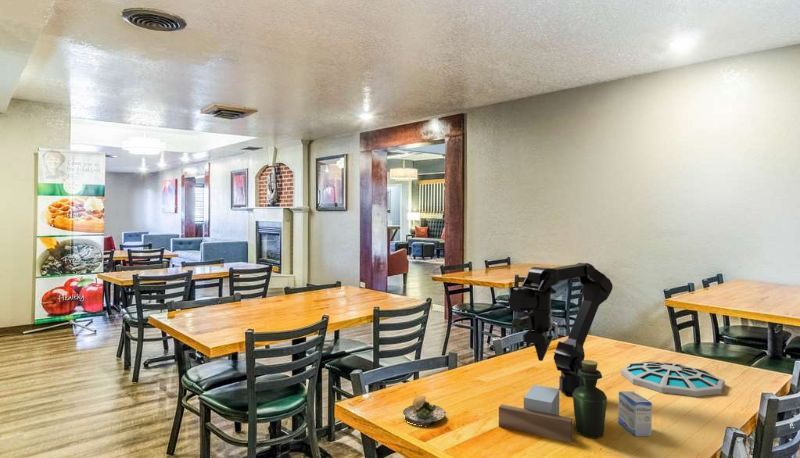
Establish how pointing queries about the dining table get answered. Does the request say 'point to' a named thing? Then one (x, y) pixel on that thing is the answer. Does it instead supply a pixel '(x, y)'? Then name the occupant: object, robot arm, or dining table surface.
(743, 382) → the dining table surface
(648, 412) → the medicine box
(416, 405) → the grey dish with food
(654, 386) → the decorative platform
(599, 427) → the potion bottle
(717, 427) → the dining table surface
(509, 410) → the walnut board
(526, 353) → the dining table surface
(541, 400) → the slate block
